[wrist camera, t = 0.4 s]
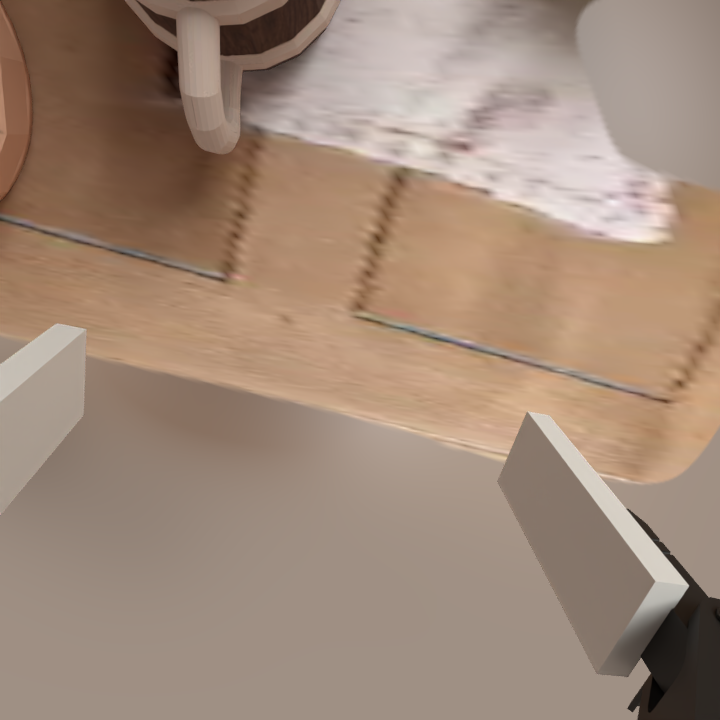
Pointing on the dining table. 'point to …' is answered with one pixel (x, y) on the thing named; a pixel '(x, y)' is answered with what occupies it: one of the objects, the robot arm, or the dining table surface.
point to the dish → (13, 105)
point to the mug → (229, 52)
